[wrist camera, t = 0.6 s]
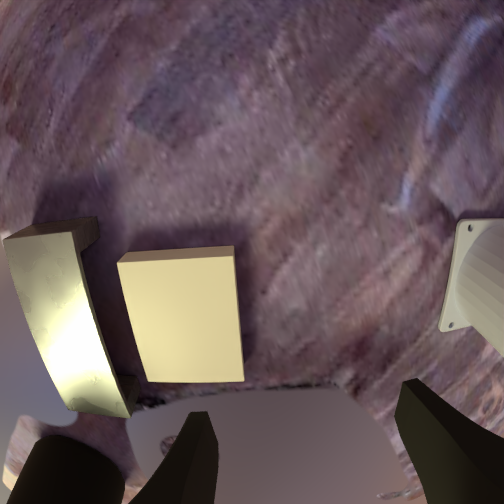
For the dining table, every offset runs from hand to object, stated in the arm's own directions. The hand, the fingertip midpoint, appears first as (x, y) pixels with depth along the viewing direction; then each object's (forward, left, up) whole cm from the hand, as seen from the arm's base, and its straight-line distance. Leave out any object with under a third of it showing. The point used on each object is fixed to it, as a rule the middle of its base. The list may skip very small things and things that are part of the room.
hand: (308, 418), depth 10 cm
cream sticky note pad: (+6, 0, -8) cm, 10 cm away
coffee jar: (+21, +19, -9) cm, 30 cm away
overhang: (+13, 0, -8) cm, 15 cm away
